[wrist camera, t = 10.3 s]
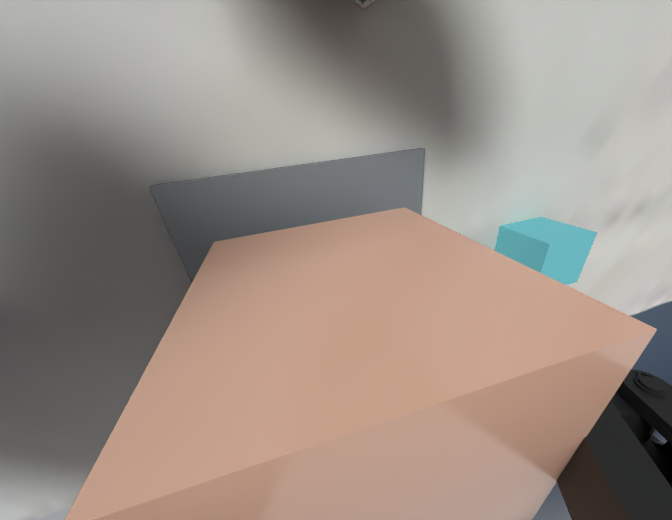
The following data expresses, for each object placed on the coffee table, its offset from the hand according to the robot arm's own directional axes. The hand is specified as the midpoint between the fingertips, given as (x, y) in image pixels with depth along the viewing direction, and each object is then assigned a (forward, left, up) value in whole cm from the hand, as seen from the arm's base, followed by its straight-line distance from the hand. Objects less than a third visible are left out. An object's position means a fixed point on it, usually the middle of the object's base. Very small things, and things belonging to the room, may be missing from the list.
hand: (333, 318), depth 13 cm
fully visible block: (+17, -1, -5) cm, 18 cm away
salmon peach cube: (0, 0, -2) cm, 2 cm away
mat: (0, 0, -5) cm, 5 cm away
